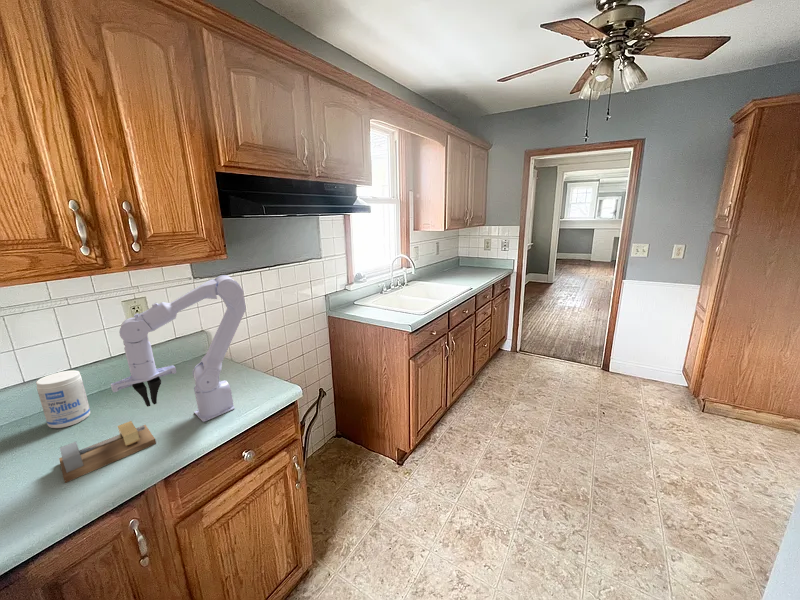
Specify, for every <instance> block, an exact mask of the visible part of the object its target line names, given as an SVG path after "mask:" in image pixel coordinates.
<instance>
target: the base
mask: <svg viewBox="0 0 800 600" xmlns="http://www.w3.org/2000/svg"><path fill="white" fill-rule="evenodd" d="M135 428H136V429H137V431H138V435H139V439H140V441H137V442H135V443H133V444H130V445H128V446H125V444H124V442H123V440H122V434H120V433H119V434H118V435H115V436H112V437H110V438H108V439H105V440H102V441H100V442H98V443H95V444H92V445H89V446H86V447H84V448H82V449H79V446H78V443H77V441H74V442H71V443H68V444H66V445H63V446H60V447H59V451H60V454H61V457H58V460H59V464H60V469H61V473H62V474H61V475H62V477H63V480H64V483H65V484H66V483H68V482H71V481H73V480H75V479H78V478H80V477H82V476H84V475H87V474H89V473H91V472H93V471H97V470H98V469H100V468H103V467H105V466H107V465H109V464H112V463H114V462H117V461H119V460H122V459H123V458H127V457H128V456H131V455H133V454H136V453H138V452H139V451H142V450H145V449H147V448H149V447H152V446H153V445H156V444H157V441H156V438H155V437H154V435H153V434H152V432H151V431H150V430H149V428H148V426H147V425H146V424H144V425H140V426H138V427H135Z"/></svg>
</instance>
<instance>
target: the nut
mask: <svg viewBox="0 0 800 600" xmlns="http://www.w3.org/2000/svg"><path fill="white" fill-rule="evenodd" d="M136 428H137V427H135V425H134V423H133V421H132V420H129V421H127V422H124V423H122V424H119V425H117V429H118V433H119V435H120V434H122V440H123V442H124V444H125V446H128V445H130V444H133V443H135V442H137V441H140V439H139V435H138V431H137V429H136Z"/></svg>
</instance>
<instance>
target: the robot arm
mask: <svg viewBox="0 0 800 600" xmlns="http://www.w3.org/2000/svg"><path fill="white" fill-rule="evenodd" d="M218 296H219V298H220V299H222V301H223V303H224V304H225V307H226V310H225V313H224V314H223V316H222V319H221V321H220V323H219V325H218V327H217V330H216V332H215V333H214V336H213V338H212V340H211V342H210V345H209V347H208V350H207V351H206V353H205V355H204V356H203V357H202V358H201V360H200V362H199V363H197V364H196V365H195V367H194V368H193V369H192V376H193V379H194V383H195V385H194V388H193V390H194V395H195V399H196V405H197V410H194V411H193V412H194V415H196V416H197V418H199V419H200V420H201V421H202V422H203V423H204V422H208V421H209V420H212V419H214V418H217V417H219V416H221V415H223V414H225V413H228V412H230V411H233V410H234V409H235V408H236V407H235V406H234V399H233V395H232V390H231V389H232V388H231V386H230V384H229V382H228V381H227V380H226V379H225V380H220V379H221V378H220V374H221V372H222V369H223V361H224V358H225V356H226V353H227V352H228V350H229V347H230V345H231V343H232V341H233V338H234V336H235V334H236V332H237V330H238V328H239V325H240V323H241V321H242V318H243V317H244V314H245V313H246V310H247V309H246V308H247V306H246V301H245V296H244V289H243V288H242V287H241V285H240V283H239V282H238V281H237V280H234V279H233V277H231V276H229V275H226V274H221V275H219V276H216V278H213V279H209V280H206V281H205V282H203V283H202V284H200V285H199V286H197V287H195V288H193V289H192V290H190V291H188V292H187V293H185V294H182V295H181V296H180V297H178V298H176V299H174V300H173V301H171V302H165V301H162V302H159V303H158V302H154V303H152V305H151V306H152V307H150V308H148V309H146V310H144V311H142V312H140V313H135V314H134V315H133V317H129V318H128V317H127V318H126V319H124V321H123V322H122V323H121V325H120V327H119V328H120V329H119V336H120V338H121V339H122V340H123V343H122V344H123V345H124V351H125V353H124V354H125V356H126V360H127V365H128V369H129V373H130V376H128V377H125V378H123V379H120V380H117V381H115V382H112V383H110V387H111V392H113V393H116V392H119V391H120V390H123V389H127V388H129V387H132V388H133V389H134V390H135V391H136V392H137V394H138V395H140V397H141V398H142V399H143V401H144V404H145V405H146V407H151V403H152V404H153V405H157V404H158V403H157V398H158V392H159V390H160V387H161V384H162V379H161V377H164V376H165V377H166V376H167V375H174V374H177V370H176V369H177V367H176V366H175V365H173V364H172V365H169V366H164V367H163V366H162V367H160V368H157V365H156V362H155V358H154V353H153V348H152V343H151V341H150V340H149V336H148V334H149V333H150V332H154V331H156V330H158V329H160V328H162V327H163V326H165V325H167V324H169V323H171V322H173V321H174V320H176V319H177V315H178V313H179V312H181V311H183V310H185V309H187V308H189V307H191V306H193V305H195V304H197V303H199V302H201V301H202V300H205V299H211V300H218ZM145 382H147V385H148V389H149V395H150V399H149V395H148V390H147V386H146V384H145ZM150 400H151V402H150Z"/></svg>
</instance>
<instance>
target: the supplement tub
mask: <svg viewBox="0 0 800 600" xmlns="http://www.w3.org/2000/svg"><path fill="white" fill-rule="evenodd" d="M35 383H36V390H37V394H38V397H39V401H40V403H41V408H42V411H43V414H44V417H45V421H46V424H47V426H48V427H49V428H52V429H61V428H67V427H69V426H73V425H75V424H78V423H80V422H82V421H84V420H86V419H87V418H88V417H89V416H90V415H91V409H90V404H89V401H88V396H87V392H86V389H85V386H84V385H85V384H84V381H83V378H82V375H81V373H80V371H79V370H73V369H72V370H71V369H70V370H63V371H59V372H54V373H51V374H48V375H46V376H43V377H41V378H39V379H38V380H37V381H36V382H35Z"/></svg>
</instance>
